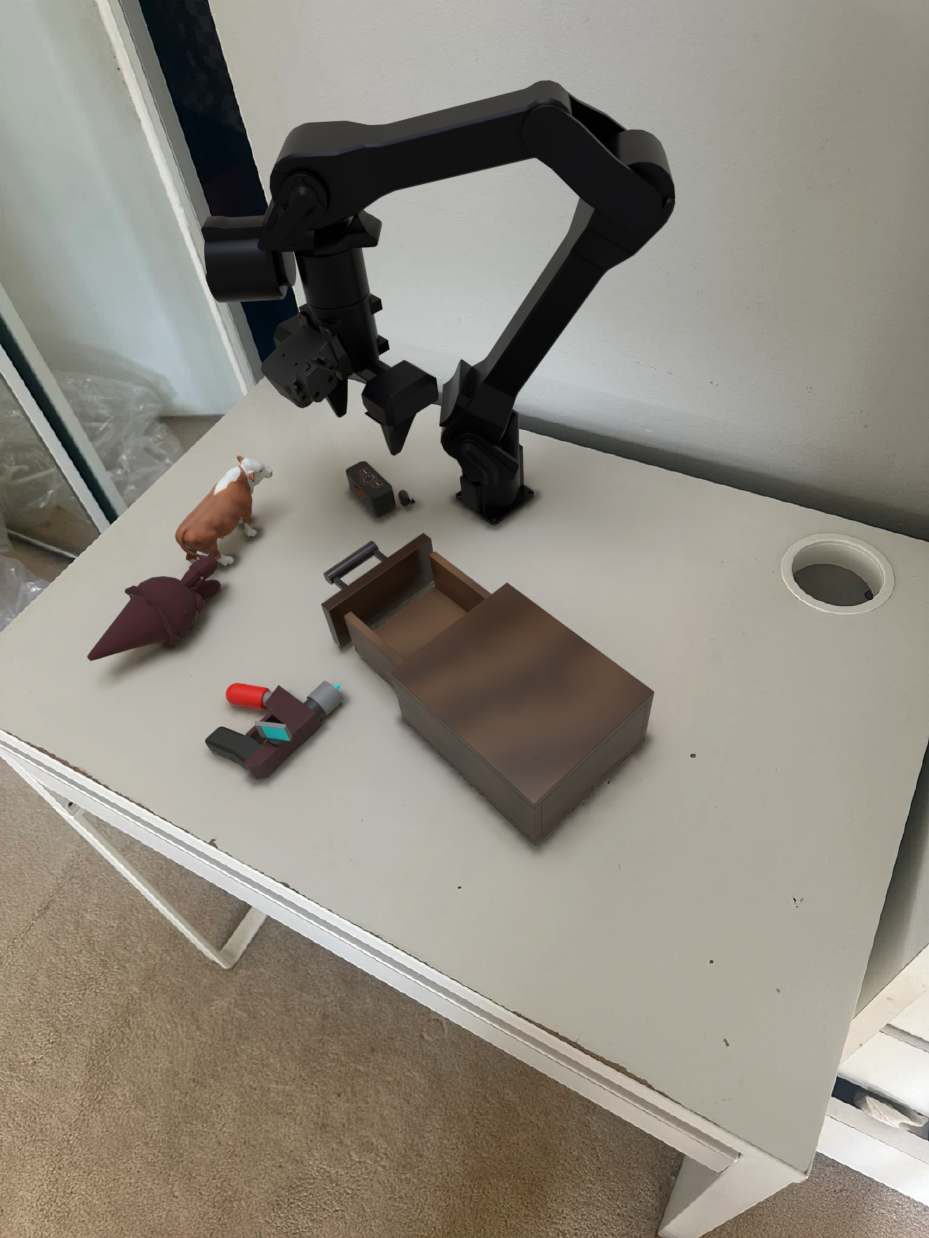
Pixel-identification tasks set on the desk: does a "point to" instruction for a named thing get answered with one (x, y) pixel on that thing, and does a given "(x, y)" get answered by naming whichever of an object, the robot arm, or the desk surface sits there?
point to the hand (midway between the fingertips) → (368, 434)
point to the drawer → (397, 602)
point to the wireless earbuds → (374, 489)
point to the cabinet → (523, 708)
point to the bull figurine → (222, 512)
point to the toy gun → (272, 725)
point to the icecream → (159, 610)
